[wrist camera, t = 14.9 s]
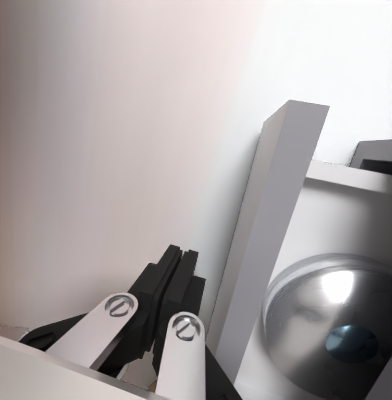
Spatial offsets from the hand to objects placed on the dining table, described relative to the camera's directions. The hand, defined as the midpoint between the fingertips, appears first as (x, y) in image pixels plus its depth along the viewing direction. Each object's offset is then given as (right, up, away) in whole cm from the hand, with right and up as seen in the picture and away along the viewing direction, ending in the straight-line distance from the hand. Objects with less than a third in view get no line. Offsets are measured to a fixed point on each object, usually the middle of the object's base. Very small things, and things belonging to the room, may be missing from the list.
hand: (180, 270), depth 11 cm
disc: (+8, -2, -1) cm, 8 cm away
